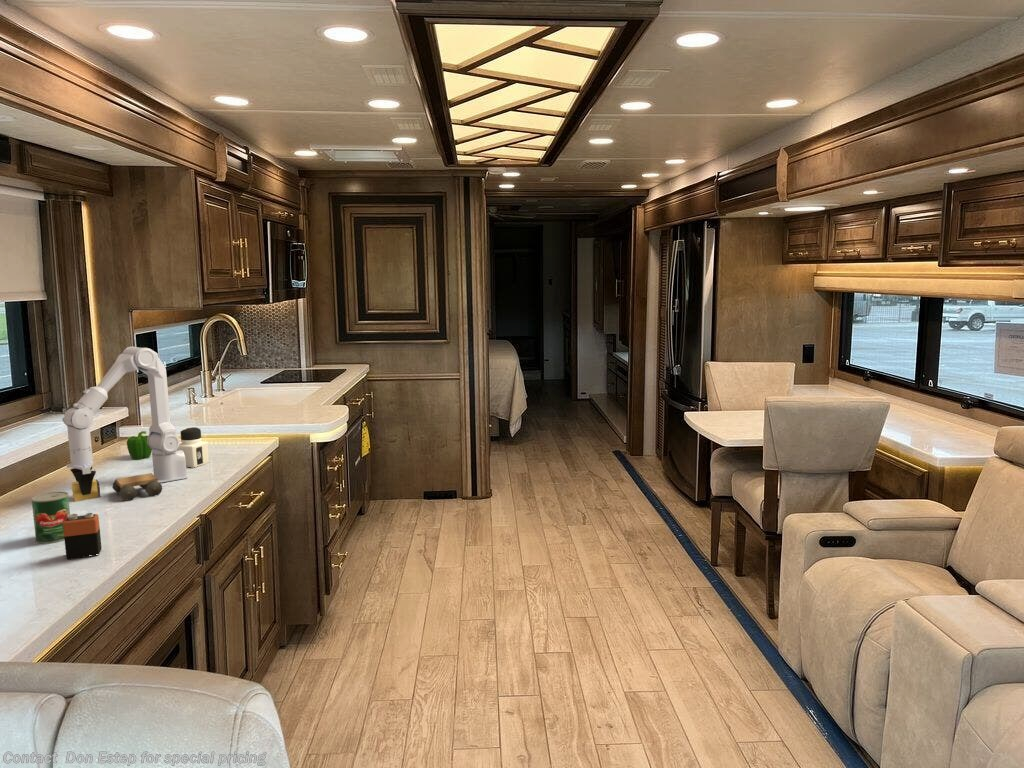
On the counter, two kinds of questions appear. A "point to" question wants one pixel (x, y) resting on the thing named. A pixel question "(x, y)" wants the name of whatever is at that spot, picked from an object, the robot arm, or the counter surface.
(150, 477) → the trolley
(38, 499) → the canned tomato
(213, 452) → the counter surface
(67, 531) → the battery
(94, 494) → the block
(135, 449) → the bell pepper
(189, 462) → the container
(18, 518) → the counter surface
